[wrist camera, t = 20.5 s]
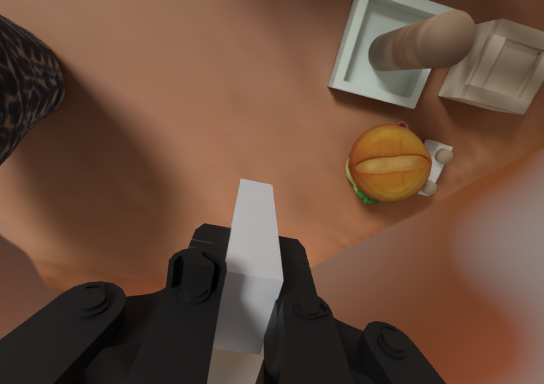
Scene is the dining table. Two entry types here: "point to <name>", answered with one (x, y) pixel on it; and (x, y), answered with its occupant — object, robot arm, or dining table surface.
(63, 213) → the dining table surface
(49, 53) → the jug
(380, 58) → the dowel
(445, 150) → the rail
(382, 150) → the cheeseburger
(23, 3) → the dining table surface
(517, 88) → the jig block
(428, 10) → the tray
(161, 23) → the dining table surface
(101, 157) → the dining table surface
